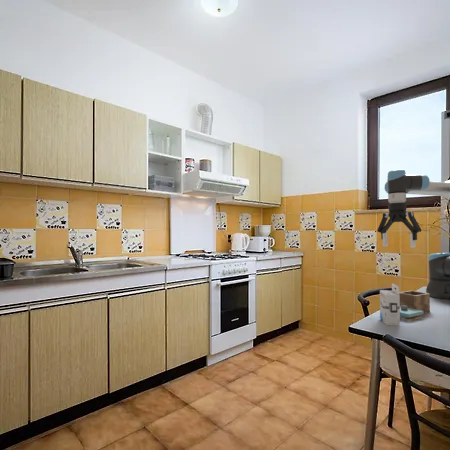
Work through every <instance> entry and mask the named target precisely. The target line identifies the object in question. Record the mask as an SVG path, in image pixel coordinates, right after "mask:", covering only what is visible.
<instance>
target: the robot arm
mask: <svg viewBox="0 0 450 450" xmlns="http://www.w3.org/2000/svg"><path fill="white" fill-rule="evenodd" d="M384 191H385V192H386V194H387V197H388V200H387V201H388V206H387V207H388V213H385V212H384V213H382V218H381V221H380V223H379V226H378V227H377V230H376V231H377V232H378V233H380V236H381V238H380V240H381V241H382V247H388V246H389V243H388V232H387V231H388V230H389V229H390V227H391V226H392V225H393V224H394V223H399V222H400V223H403V225H404V226H406V228H407V229H408V230H409V231H410V232H411V233H410V234H409V239H410V248H411V249H412V248H416V247H417V245H416V244H417V243H416V241H417V240H418V233H420V232H422V231H423V230H422V228H421V226H420V225H419V223H418V221H417V220H416V217H415V213H414V211H408V212H407V203H406V202H407V195H421V196H432V197H433V196H435V197H436V196H437V197H443V198H445V199H450V180H446V181H436V180H435V181H434V180H430V177H429V176H428V175H426V174H420V173H419V174H406V170H404V169H393V170H390V171H388V173H387V180H386V182H385V184H384ZM407 217H408V218H407ZM428 276H429V277H428V279H429V280H428V283H427V285H426V289H425V293H429V294H430V297H432V298H435V299H436V298H438V299H446V300H449V299H450V252H437V253H430V254H429V256H428Z"/></svg>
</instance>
